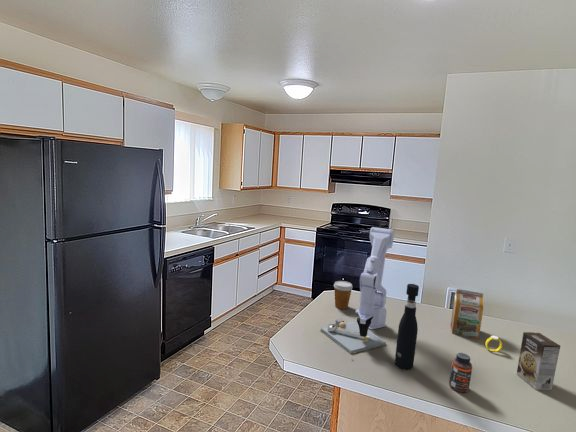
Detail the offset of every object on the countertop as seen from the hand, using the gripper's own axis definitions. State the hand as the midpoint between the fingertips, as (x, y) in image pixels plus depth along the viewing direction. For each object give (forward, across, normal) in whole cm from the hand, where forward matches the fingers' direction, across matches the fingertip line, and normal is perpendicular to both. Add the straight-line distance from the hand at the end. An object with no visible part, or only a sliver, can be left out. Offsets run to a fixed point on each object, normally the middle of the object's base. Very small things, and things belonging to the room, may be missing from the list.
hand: (363, 333), depth 142 cm
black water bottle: (+3, +12, +16) cm, 20 cm away
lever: (+1, 0, -7) cm, 7 cm away
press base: (+3, -1, -5) cm, 6 cm away
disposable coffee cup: (+3, -31, -16) cm, 35 cm away
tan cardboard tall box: (+3, -31, +40) cm, 51 cm away
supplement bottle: (+3, +17, +34) cm, 38 cm away
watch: (+3, -17, +49) cm, 52 cm away
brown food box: (+3, +1, +59) cm, 59 cm away
